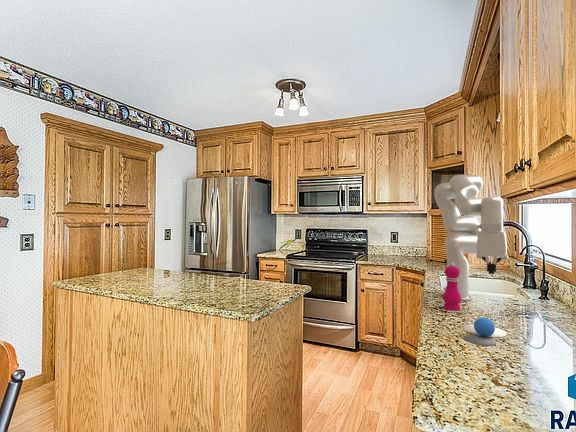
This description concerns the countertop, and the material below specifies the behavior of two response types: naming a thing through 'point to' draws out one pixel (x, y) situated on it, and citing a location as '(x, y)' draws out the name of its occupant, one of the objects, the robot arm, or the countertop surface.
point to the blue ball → (484, 327)
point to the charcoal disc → (479, 340)
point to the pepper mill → (452, 288)
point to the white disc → (471, 329)
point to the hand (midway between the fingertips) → (491, 273)
